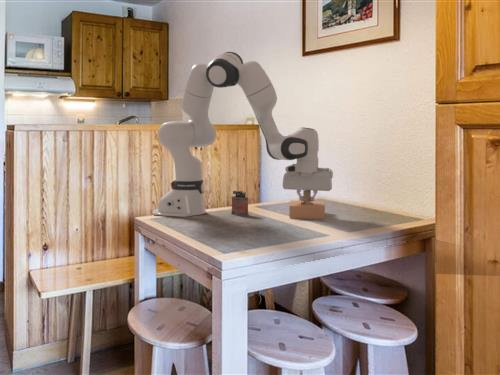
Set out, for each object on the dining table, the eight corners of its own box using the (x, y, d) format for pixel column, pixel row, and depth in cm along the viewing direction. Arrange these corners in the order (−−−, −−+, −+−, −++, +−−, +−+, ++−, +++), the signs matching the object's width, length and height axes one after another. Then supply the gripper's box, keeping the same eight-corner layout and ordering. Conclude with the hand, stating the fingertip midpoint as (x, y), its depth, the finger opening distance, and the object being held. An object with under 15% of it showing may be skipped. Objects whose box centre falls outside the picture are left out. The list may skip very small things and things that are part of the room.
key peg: (302, 212, 184) (303, 190, 183) (303, 211, 187) (303, 190, 185) (310, 212, 183) (310, 191, 182) (310, 211, 186) (310, 190, 185)
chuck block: (289, 218, 179) (289, 205, 178) (290, 211, 193) (290, 200, 192) (324, 218, 177) (324, 206, 177) (323, 212, 191) (323, 201, 190)
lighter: (250, 214, 187) (250, 191, 185) (245, 216, 184) (245, 192, 183) (234, 212, 191) (234, 189, 190) (229, 214, 188) (229, 190, 187)
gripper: (334, 167, 182) (333, 200, 184) (285, 166, 189) (285, 198, 190) (331, 168, 176) (331, 203, 178) (281, 167, 183) (281, 200, 184)
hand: (306, 200), depth 184 cm, fingers open, 3 cm apart
